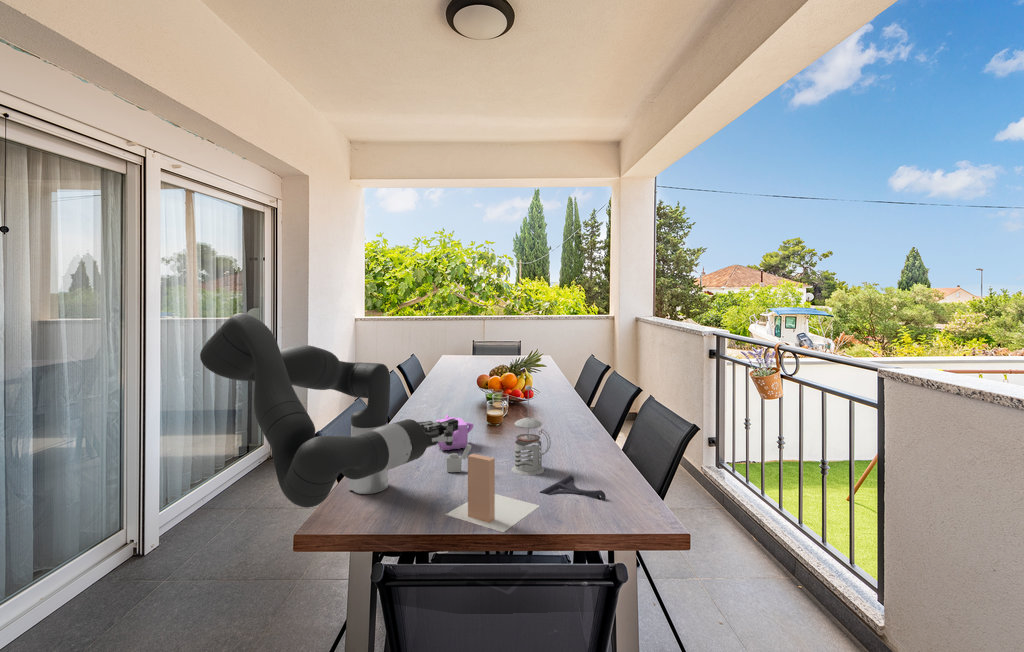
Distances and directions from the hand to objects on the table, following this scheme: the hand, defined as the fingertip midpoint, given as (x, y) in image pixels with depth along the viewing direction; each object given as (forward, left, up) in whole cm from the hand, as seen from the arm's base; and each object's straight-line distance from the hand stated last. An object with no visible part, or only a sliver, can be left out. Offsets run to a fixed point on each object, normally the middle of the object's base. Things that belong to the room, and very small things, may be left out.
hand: (455, 424), depth 103 cm
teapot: (-22, +60, -24) cm, 69 cm away
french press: (+8, +43, -24) cm, 50 cm away
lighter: (-12, +37, -24) cm, 46 cm away
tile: (+3, +8, -23) cm, 25 cm away
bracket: (+23, +29, -25) cm, 45 cm away
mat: (+5, +13, -24) cm, 28 cm away
